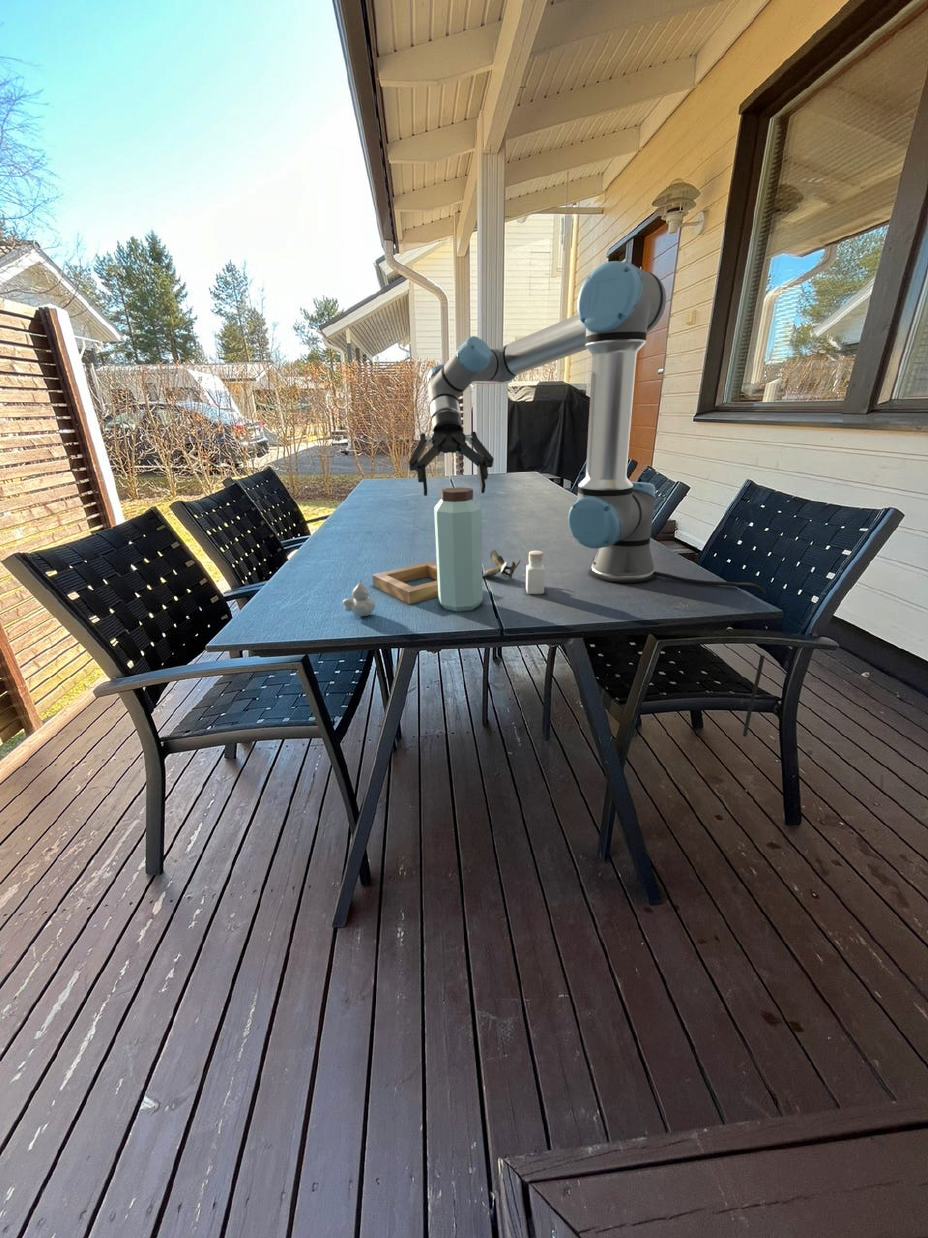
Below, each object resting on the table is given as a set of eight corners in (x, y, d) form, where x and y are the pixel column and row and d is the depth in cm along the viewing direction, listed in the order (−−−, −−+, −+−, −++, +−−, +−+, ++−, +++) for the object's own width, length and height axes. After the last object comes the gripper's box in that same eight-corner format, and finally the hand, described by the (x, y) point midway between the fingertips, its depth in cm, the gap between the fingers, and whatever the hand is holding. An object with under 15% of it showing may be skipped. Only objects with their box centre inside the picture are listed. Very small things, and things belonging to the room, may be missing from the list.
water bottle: (478, 614, 111) (476, 493, 101) (432, 611, 113) (426, 493, 103) (486, 597, 120) (485, 486, 110) (443, 595, 122) (439, 485, 112)
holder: (469, 587, 126) (469, 576, 125) (410, 604, 117) (409, 591, 116) (430, 572, 139) (429, 561, 138) (373, 586, 130) (372, 574, 128)
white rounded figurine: (375, 619, 110) (372, 582, 107) (343, 621, 109) (339, 584, 106) (376, 609, 115) (373, 574, 112) (345, 611, 114) (341, 576, 111)
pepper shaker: (526, 594, 121) (527, 554, 117) (525, 589, 124) (526, 550, 121) (544, 594, 121) (545, 554, 117) (542, 589, 124) (543, 550, 121)
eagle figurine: (522, 570, 135) (492, 559, 139) (519, 552, 129) (488, 541, 133) (507, 592, 132) (477, 580, 136) (504, 574, 126) (472, 562, 130)
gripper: (493, 429, 136) (504, 497, 127) (396, 433, 133) (401, 502, 125) (497, 407, 129) (509, 478, 120) (395, 410, 126) (400, 483, 118)
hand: (454, 490), depth 123 cm, fingers open, 13 cm apart
